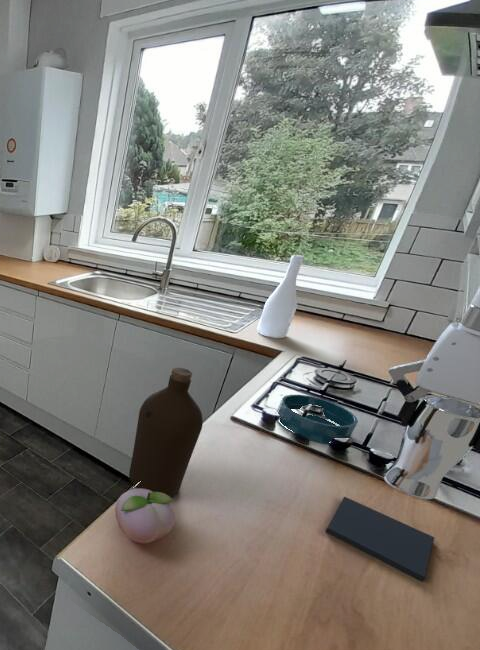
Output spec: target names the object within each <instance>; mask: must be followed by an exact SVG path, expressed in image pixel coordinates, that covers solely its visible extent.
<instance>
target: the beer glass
mask: <svg viewBox="0 0 480 650" xmlns="http://www.w3.org/2000/svg"><path fill="white" fill-rule="evenodd" d="M403 431H404V432H403V434H402V438H401V443H400V446H399V450H398V454H397V456H396V459H395V460H394V462H393V463H392V464H391V465H390V466H389V468H388V469H386V470H385V472H383V474H382V477H383V480H384V482H385V483H386V484H388V486H390V487H392V488H393V489H394V490H396V491H398V492H400V493H402V494H404V495H407V496H409V497H413V498H415V499H420V500H433V499H435V498H436V497H437V496H438V492H439V488H440V485H441V483H442V480H443V478H444V477H445V476H446V475H447V474H448V473H449V471H451V470H452V469H453V468H454V467H455V466H456V465H457V464H458V463H459V462H460V461H462V460H463V459H464V457H466V456H467V454H469V453H470V451H472V450H473V447H474V445H475V443H476V442H477V440H478V439H479V437H480V407H479V406H478V405H476V404H473V403H469V402H465V401H462V400H458V399H455V398H451V397H448V396H444V395H439V394H427V395H425V396H423V399H422V400H421V401H420V402H419V404H418V406H417V408H416V410H415V412H414V414H413V415H412V417H411V419H410V421H409V423H408V424H407V426H405V427H404V430H403Z"/></svg>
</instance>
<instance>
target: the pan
mask: <svg viewBox="0 0 480 650" xmlns="http://www.w3.org/2000/svg"><path fill="white" fill-rule="evenodd" d="M308 404H312V405H318V406H321V407H322V408H324V410H323V412H324V415H325V417H326V418H327V419H330V420H331V421H334V422H335V423H337V424H339V425H340V426H336V425H335V424H333V423H331V422H329V421H327V420H325V419H323V418H320V417H318V416H314V415H313V416H312V415H308V416H306V418H305V417H303V416H301V415H299V414H297V413H295V412H293V411H292V410H291V409H300V408H301V407H302V406H305V405H308ZM276 412H278V414H279V415H280V417H281V418H280V422H281V423H282V424H283V425H284V426H286V427H287V428H288V429H290V430H292V431H293V432H295V433H297V434H300V435H302V436H305V437H307V438H309V439H307V438H305V437H302V436H300V435H297V434H295V433H293V432H292V431H290V430H288V429H286V428H285V427H284V426H282V425H281V424H280V423H279V422H278V424H279V425H280V426H281V427H282V428H284V429H285V430H286V431H288V432H290V433H291V434H293V435H296V436H298V437H300V438H302V439H305V440H308V441H311V442H315V443H320V444H324V445H331V444H330V443H329V442H330V441H331V440H332V439H333V438H350V439H351V437H352V435H353V434H354V431H355V429H356V427H357V425H358V423H359V421H358V417H357V416H356V415H355V414H353V413H352V412H351V411H350V410H349V409H347V408H345V407H343V406H342V405H340V404H337V403H335V402H333V401H329V400H326V399H324V398H320V397H315V396H311V395H304V394H288V395H284V396H283V397H282V398H281V399H280V402H279V405H278V407H277V410H276Z"/></svg>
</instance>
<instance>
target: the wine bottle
mask: <svg viewBox="0 0 480 650" xmlns="http://www.w3.org/2000/svg"><path fill="white" fill-rule="evenodd" d="M304 259H305V258H304V255H301V254H292V256H291V257H290V258H289V265H288V267H287V270H286V271H285V275H284V277H283V279H282V280H281V281H280V283H279V284H278V286H277V287H276V288H275V289H274V291H273V292H272V293H271V295H270V296H269V297H268V298H267V300H266V301H265V303H264V306H263V309H262V313H261V315H260V318H259V321H258V325H257V327H256V331H257V333H258V334H260V335H262V336H265V337H268V338H271V339H282V338H285V337H287V335H288V333H289V330H290V327H291V324H292V322H293V320H294V317H295V314H296V310H297V308H298V298H297V297H298V296H297V279H298V274H299V271H300V270H301V269H300V268H301V265H302V263H303V262H304Z"/></svg>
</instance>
